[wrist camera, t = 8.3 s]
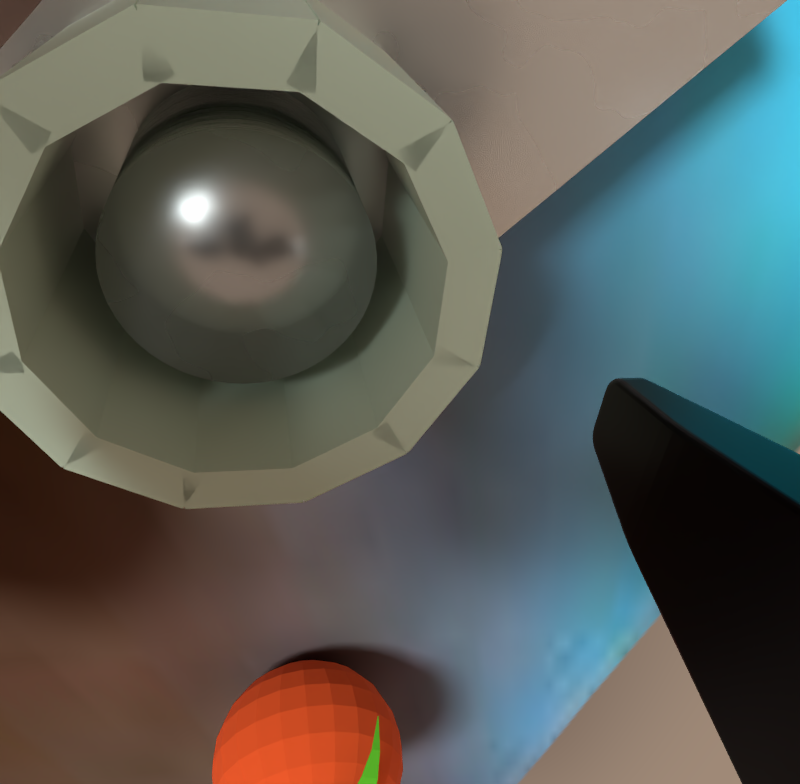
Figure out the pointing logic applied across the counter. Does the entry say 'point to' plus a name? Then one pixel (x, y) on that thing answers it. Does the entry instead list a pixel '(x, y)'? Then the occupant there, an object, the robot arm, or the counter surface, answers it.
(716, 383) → the counter surface
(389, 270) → the collar
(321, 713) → the clementine
